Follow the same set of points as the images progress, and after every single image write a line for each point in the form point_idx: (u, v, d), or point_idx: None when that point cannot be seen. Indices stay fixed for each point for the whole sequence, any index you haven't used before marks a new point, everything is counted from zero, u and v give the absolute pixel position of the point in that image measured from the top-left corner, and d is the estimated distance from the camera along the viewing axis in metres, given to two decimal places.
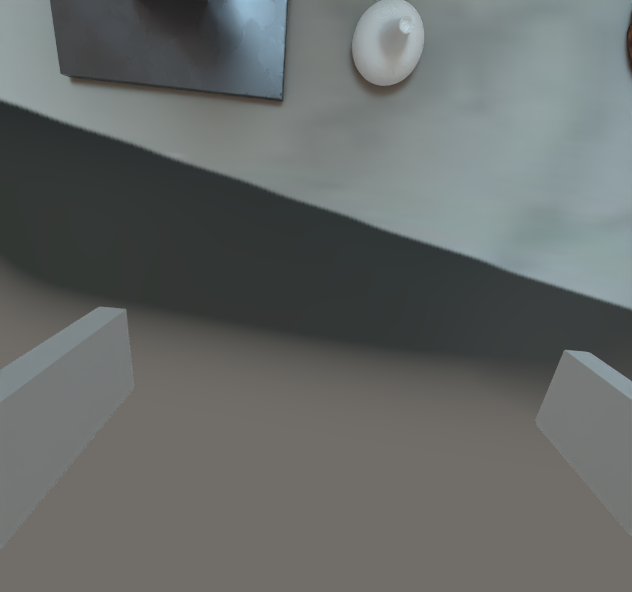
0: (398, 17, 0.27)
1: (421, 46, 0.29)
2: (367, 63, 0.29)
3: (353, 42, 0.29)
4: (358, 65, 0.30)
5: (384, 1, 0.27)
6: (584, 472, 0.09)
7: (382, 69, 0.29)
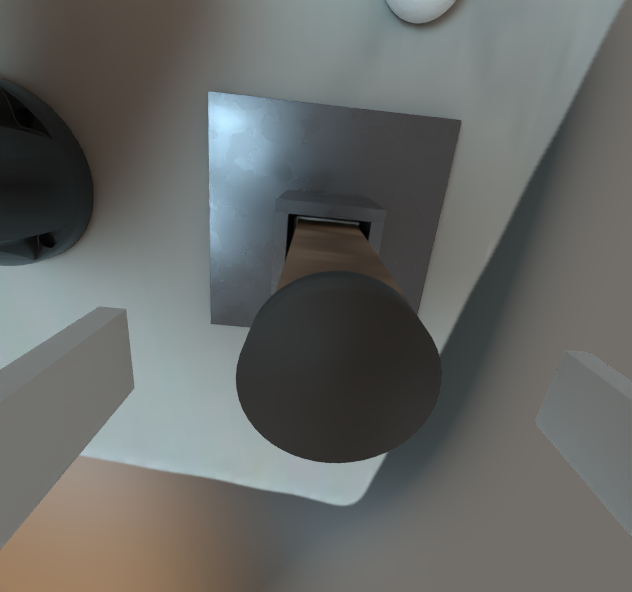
0: None
1: None
2: None
3: (422, 17, 0.24)
4: (446, 8, 0.24)
5: None
6: (584, 473, 0.09)
7: None
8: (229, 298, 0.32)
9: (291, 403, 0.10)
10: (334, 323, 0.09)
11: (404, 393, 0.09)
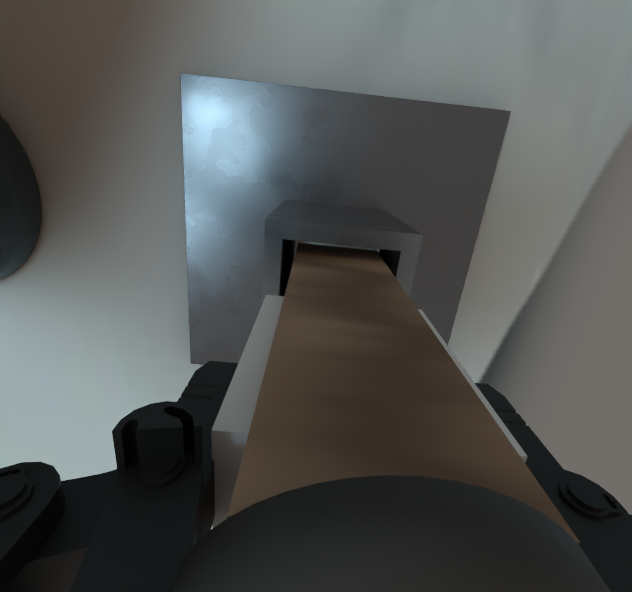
0: None
1: None
2: None
3: None
4: None
5: None
6: None
7: None
8: (213, 333, 0.26)
9: None
10: None
11: None
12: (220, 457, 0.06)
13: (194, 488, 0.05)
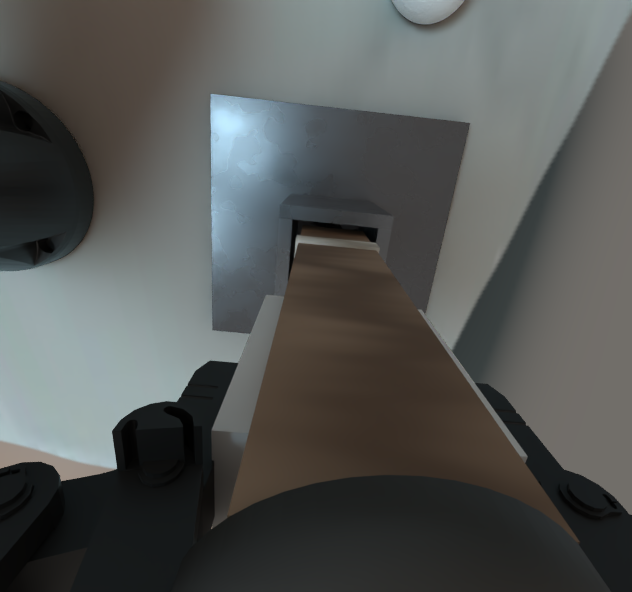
0: None
1: None
2: None
3: (429, 18, 0.23)
4: (454, 9, 0.23)
5: None
6: None
7: None
8: (231, 304, 0.32)
9: None
10: None
11: None
12: (220, 457, 0.06)
13: (194, 488, 0.05)
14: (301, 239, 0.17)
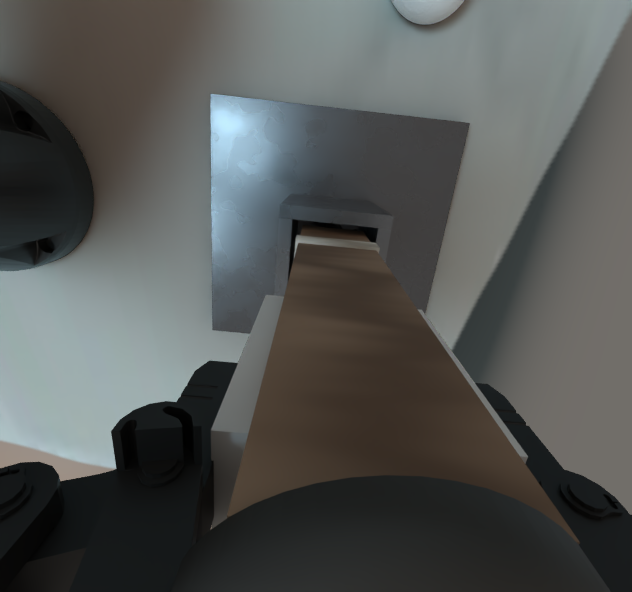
0: None
1: None
2: None
3: (429, 18, 0.23)
4: (454, 9, 0.23)
5: None
6: None
7: None
8: (231, 304, 0.32)
9: None
10: None
11: None
12: (219, 457, 0.06)
13: (193, 488, 0.05)
14: (301, 239, 0.17)
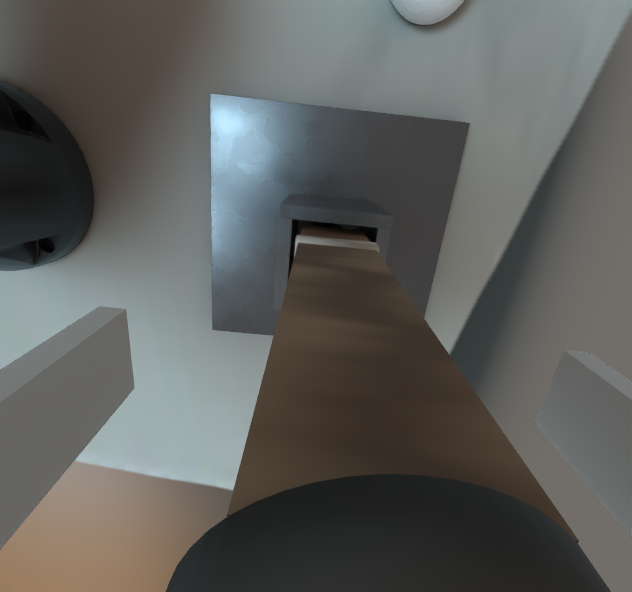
0: None
1: None
2: None
3: (429, 18, 0.23)
4: (453, 9, 0.23)
5: None
6: (584, 472, 0.09)
7: None
8: (231, 304, 0.32)
9: None
10: None
11: None
12: None
13: None
14: (301, 239, 0.17)
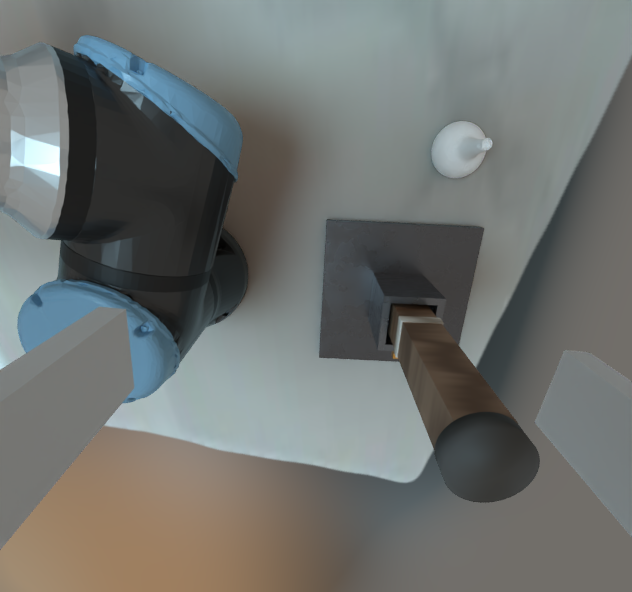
0: (456, 146, 0.37)
1: (468, 123, 0.38)
2: (476, 166, 0.39)
3: (457, 177, 0.40)
4: None
5: (440, 157, 0.39)
6: (584, 473, 0.09)
7: (483, 154, 0.38)
8: (332, 340, 0.49)
9: (467, 476, 0.20)
10: (492, 443, 0.19)
11: (521, 470, 0.20)
12: None
13: None
14: (403, 320, 0.35)
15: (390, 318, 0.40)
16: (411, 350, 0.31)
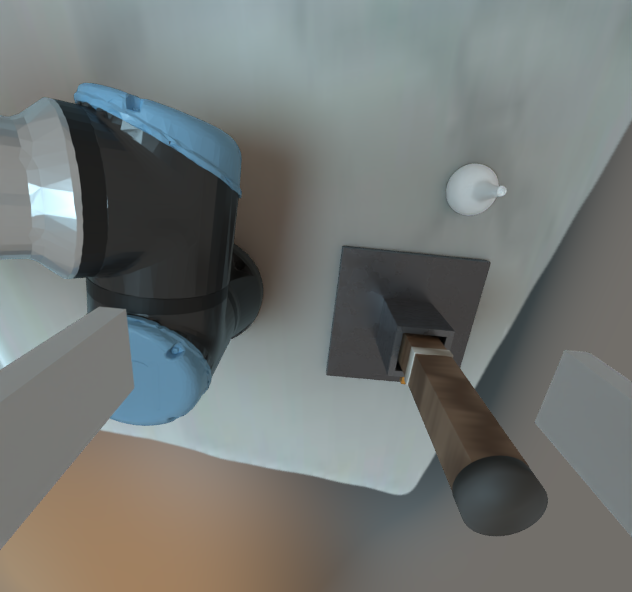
0: (471, 188, 0.40)
1: (483, 167, 0.40)
2: (488, 206, 0.41)
3: (469, 215, 0.43)
4: None
5: (455, 197, 0.41)
6: (584, 473, 0.09)
7: None
8: (340, 360, 0.51)
9: (482, 513, 0.23)
10: (507, 486, 0.22)
11: (531, 510, 0.22)
12: None
13: None
14: (416, 351, 0.37)
15: (400, 345, 0.42)
16: (425, 383, 0.33)
